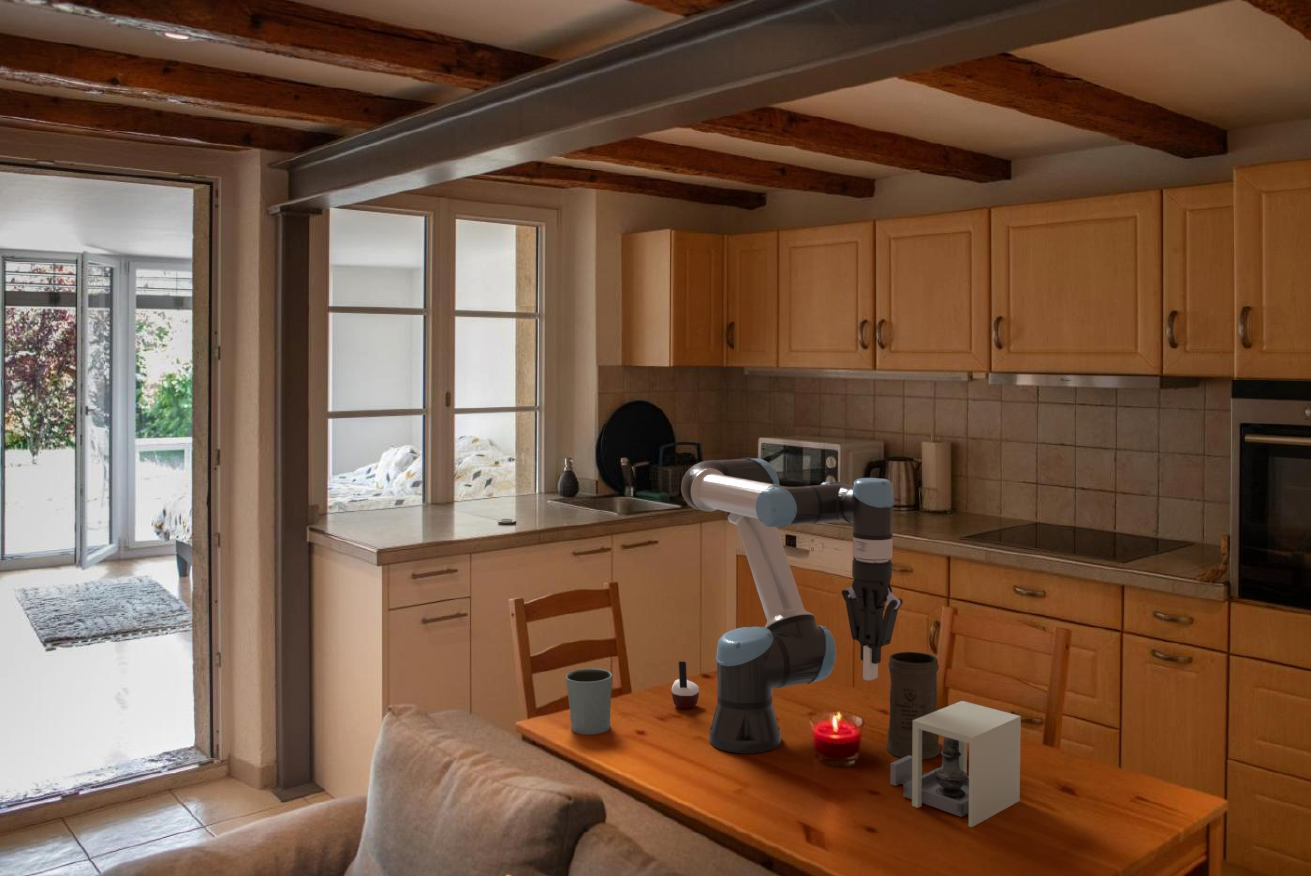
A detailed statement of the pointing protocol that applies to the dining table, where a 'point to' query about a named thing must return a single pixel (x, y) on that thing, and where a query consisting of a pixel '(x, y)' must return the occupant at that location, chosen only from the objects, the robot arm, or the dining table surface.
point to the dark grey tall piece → (950, 771)
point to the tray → (928, 788)
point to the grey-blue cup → (589, 700)
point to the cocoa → (684, 690)
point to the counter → (976, 755)
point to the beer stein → (912, 701)
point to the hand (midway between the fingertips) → (870, 678)
